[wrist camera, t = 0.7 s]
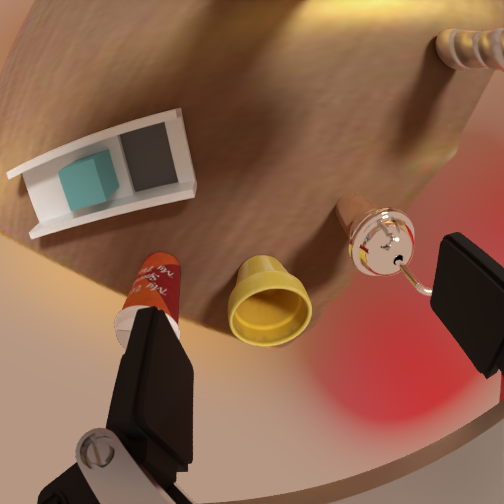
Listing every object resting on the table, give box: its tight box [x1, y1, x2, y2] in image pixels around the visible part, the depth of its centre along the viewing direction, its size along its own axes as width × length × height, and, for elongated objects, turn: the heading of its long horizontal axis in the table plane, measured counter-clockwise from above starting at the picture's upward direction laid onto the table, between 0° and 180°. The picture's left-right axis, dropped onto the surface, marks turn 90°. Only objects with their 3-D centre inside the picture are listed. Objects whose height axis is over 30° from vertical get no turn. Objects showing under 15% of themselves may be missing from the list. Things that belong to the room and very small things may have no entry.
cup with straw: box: [336, 193, 433, 296], centre depth 31 cm, size 8×9×20 cm
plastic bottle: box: [436, 28, 504, 72], centre depth 19 cm, size 6×7×20 cm
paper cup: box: [114, 252, 181, 349], centre depth 36 cm, size 8×8×14 cm
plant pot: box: [228, 255, 312, 346], centre depth 40 cm, size 10×10×10 cm
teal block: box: [58, 149, 120, 211], centre depth 30 cm, size 5×5×5 cm
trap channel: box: [7, 108, 197, 239], centre depth 31 cm, size 10×24×4 cm, turn 99°
